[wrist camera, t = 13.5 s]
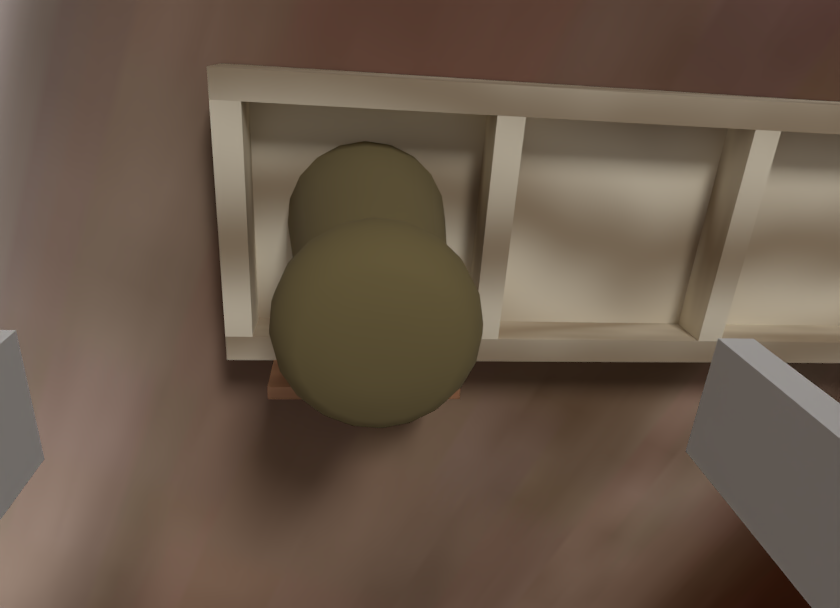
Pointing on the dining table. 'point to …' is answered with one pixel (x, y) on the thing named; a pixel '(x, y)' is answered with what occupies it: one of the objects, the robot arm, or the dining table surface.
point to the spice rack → (558, 208)
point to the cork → (373, 291)
